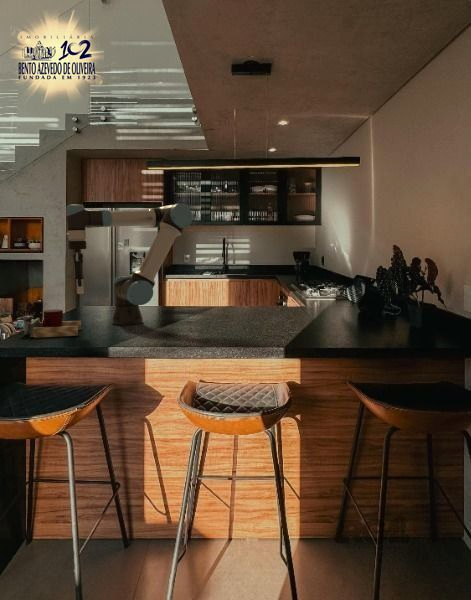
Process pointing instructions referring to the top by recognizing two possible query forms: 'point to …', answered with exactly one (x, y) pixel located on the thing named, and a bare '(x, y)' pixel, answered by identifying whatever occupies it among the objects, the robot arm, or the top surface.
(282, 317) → the top surface
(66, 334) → the wooden tray
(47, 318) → the mug
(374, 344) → the top surface
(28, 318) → the winch post
